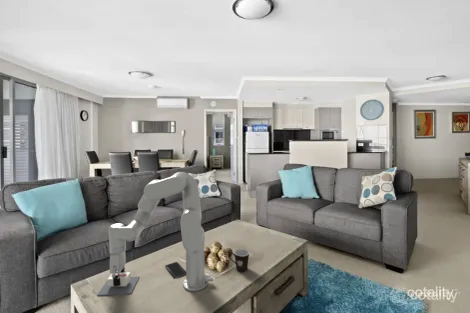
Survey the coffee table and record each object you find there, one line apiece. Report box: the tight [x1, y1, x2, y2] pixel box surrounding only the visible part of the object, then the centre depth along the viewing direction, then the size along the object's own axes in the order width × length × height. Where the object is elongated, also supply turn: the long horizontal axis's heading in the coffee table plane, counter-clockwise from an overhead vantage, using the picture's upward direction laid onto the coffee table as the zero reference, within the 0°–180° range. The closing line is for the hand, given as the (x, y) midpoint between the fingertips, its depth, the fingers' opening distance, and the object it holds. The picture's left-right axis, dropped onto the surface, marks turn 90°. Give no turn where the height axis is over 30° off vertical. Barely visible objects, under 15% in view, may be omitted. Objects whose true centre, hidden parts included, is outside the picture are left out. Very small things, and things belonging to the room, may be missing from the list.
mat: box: [97, 275, 140, 297], centre depth 128 cm, size 16×14×1 cm
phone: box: [164, 261, 186, 279], centre depth 143 cm, size 8×1×15 cm
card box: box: [107, 271, 132, 287], centre depth 128 cm, size 6×9×4 cm, turn 92°
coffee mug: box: [228, 248, 250, 273], centre depth 145 cm, size 12×9×10 cm
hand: (119, 281), depth 128 cm, fingers closed on card box, 6 cm apart
